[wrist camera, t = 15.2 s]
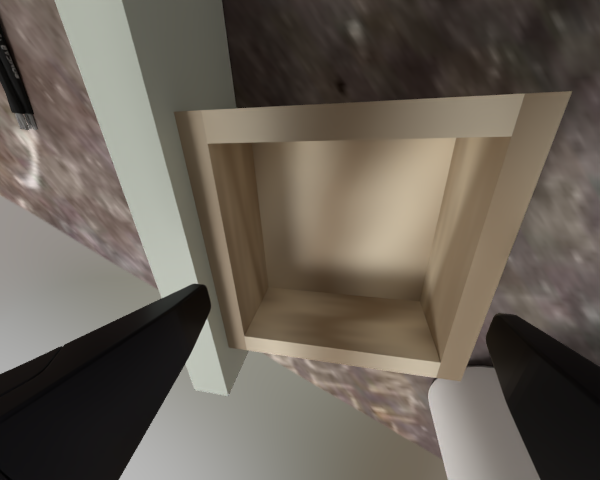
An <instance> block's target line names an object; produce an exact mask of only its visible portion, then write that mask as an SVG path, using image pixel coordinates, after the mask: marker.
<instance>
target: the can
mask: <svg viewBox="0 0 600 480" xmlns="http://www.w3.org/2000/svg"><path fill="white" fill-rule="evenodd" d="M428 400H429V405H430V409H431V413H432V417H433V422H434V426H435V430H436V434H437V438H438V442H439V446H440V450H441V454H442V458H443V462H444V466H445V470H446V474H447V478H448V480H540V478H539V476H538V473H537V471H536V469H535V467H534V465H533V462H532V460H531V458H530V456H529V453H528V451H527V449H526V447H525V444H524V442H523V440H522V438H521V435H520V433H519V431H518V429H517V426H516V424H515V422H514V420H513V418H512V415H511V413H510V411H509V408H508V406H507V403H506V401H505V398H504V395H503V392H502V389H501V386H500V383H499V380H498V377H497V374H496V371H495V368H494V367H492V366H485V365H468V366H467V367H466V369H465V372H464V374H463V377H462V380H461V381H454V380H447V379H440V378H436V379H435V381H434V382H433V384H432V385H431V387H430V389H429V393H428Z"/></svg>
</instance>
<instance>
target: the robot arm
mask: <svg viewBox="0 0 600 480" xmlns="http://www.w3.org/2000/svg"><path fill="white" fill-rule="evenodd" d="M210 310H211V301H210V297H209V293H208V289H207V287H206V285H204V284H191V285H189V286H187V287H185V288H183V289H181V290H178V291H176V292H174V293H172V294H170V295H168V296H166V297H164V298H162V299H160V300H158V301H155V302H153V303H151V304H149V305H147V306H145V307H143V308H141V309H139V310H136V311H134V312H132V313H130V314H128V315H126V316H124V317H122V318H120V319H117V320H116V321H113V322H111V323H109V324H107V325H105V326H103V327H101V328H99V329H96V330H94V331H92V332H90V333H88V334H86V335H84V336H82V337H79V338H77V339H75V340H73V341H71V342H69V343H67V344H65V345H64V346H63V347H62V346H61V347H58V348H56V349H54V350H52V351H50V352H48V353H46V354H44V355H41V356H39V357H37V358H35V359H33V360H31V361H28V362H26V363H24V364H22V365H20V366H18V367H16V368H13V369H11V370H9V371H6V372H4V373H2V374H0V480H119V478H120V476H121V475H122V473H123V471H124V470H125V468H126V466H127V464H128V463H129V461H130V459H131V457H132V456H133V454H134V452H135V450H136V449H137V447H138V445H139V443H140V442H141V440H142V438H143V436H144V435H145V433H146V431H147V429H148V428H149V426H150V424H151V423H152V421H153V419H154V417H155V416H156V414H157V412H158V410H159V408H160V407H161V405H162V403H163V402H164V400H165V398H166V396H167V395H168V393H169V391H170V389H171V388H172V386H173V384H174V382H175V381H176V379H177V377H178V375H179V374H180V372H181V370H182V369H183V367H184V365H185V363H186V362H187V360H188V358H189V356H190V354H191V352H192V350H193V348H194V346H195V344H196V342H197V340H198V337H199V335H200V333H201V331H202V328H203V326H204V324H205V322H206V320H207V317H208V315H209V313H210ZM486 344H487V347H488V350H489V353H490V356H491V359H492V362H493V365H494V368H495V371H496V374H497V377H498V380H499V383H500V386H501V389H502V392H503V395H504V398H505V401H506V403H507V406H508V408H509V411H510V413H511V415H512V418H513V420H514V422H515V424H516V426H517V429H518V431H519V433H520V435H521V438H522V440H523V442H524V444H525V447H526V449H527V451H528V453H529V456H530V458H531V460H532V462H533V465H534V467H535V469H536V471H537V473H538V476H539V478H540V480H600V367H599V366H598V365H596V364H594V363H593V362H591V361H589V360H588V359H586V358H585V357H583V356H581V355H580V354H578V353H577V352H575V351H573V350H572V349H570V348H568V347H567V346H565V345H564V344H562V343H560V342H559V341H557V340H556V339H554V338H552V337H551V336H549V335H547V334H546V333H544V332H543V331H541V330H539V329H538V328H536V327H535V326H533V325H531V324H530V323H528V322H526V321H525V320H523V319H522V318H520V317H518V316H517V315H513V314H503V313H498V314H496V315H495V316H494V317H493V320H492V322H491V325H490V327H489V330H488V332H487V335H486Z"/></svg>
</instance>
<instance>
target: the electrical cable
mask: <svg viewBox="0 0 600 480" xmlns="http://www.w3.org/2000/svg"><path fill="white" fill-rule="evenodd" d="M0 82H1V84H2V86H3V88H4V91H5V93H6V96H7V99H8V102H9V105H10V108H11V111H12V112H13V113H15V115H16V118H17V121H18V123H19V126H20V129H25V130H29V129H32V127H33V129H34V130H38V129H37V126H36V124H35V121H34V118H33V115H32V114H34V113H33V111H32V108H31V106H30V103H29V100H28V98H27V95H26V93H25V90H24V87H23V85H22V82H21V80H20V78H19V75H18V73H17V71H16V68H15V66H14V64H13V62H12V59H11V57H10V54H9V51H8V48H7V45H6V41H5V38H4V35H3V32H2V29H1V26H0ZM23 114H25V117H26V120H27V123H28V125H27V123H26V120H25V118H24V116H23ZM27 114H28V117H29V119H28V117H27ZM29 120H30V122H31V124H32V127H31V124H30V122H29ZM28 126H29V128H28Z"/></svg>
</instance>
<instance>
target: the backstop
mask: <svg viewBox="0 0 600 480" xmlns="http://www.w3.org/2000/svg"><path fill="white" fill-rule="evenodd" d="M55 3H56V6H57V9H58V11H59V14H60V17H61V20H62V22H63V25H64V28H65V31H66V34H67V36H68V39H69V42H70V45H71V47H72V50H73V53H74V56H75V59H76V61H77V64H78V67H79V70H80V72H81V75H82V78H83V81H84V84H85V86H86V89H87V92H88V95H89V97H90V100H91V103H92V106H93V109H94V111H95V114H96V117H97V120H98V123H99V125H100V128H101V131H102V134H103V136H104V139H105V142H106V145H107V148H108V150H109V153H110V156H111V159H112V161H113V164H114V167H115V170H116V173H117V175H118V178H119V181H120V184H121V186H122V189H123V192H124V195H125V198H126V200H127V203H128V206H129V209H130V211H131V214H132V217H133V220H134V223H135V225H136V228H137V231H138V234H139V237H140V239H141V242H142V245H143V248H144V250H145V253H146V256H147V259H148V262H149V264H150V267H151V270H152V273H153V275H154V278H155V281H156V284H157V287H158V289H159V292H160V295H161V297H162V298H164V297H166V296H168V295H170V294H172V293H174V292H176V291H178V290H181V289H183V288H185V287H187V286H189V285H191V284H204V285H206V287H207V289H208V293H209V297H210V301H211V310H210V313H209V315H208V317H207V320H206V322H205V324H204V326H203V328H202V331H201V333H200V335H199V337H198V340H197V342H196V344H195V346H194V348H193V350H192V352H191V354H190V356H189V358H188V360H187V362H186V363H185V364H186V367H187V370H188V373H189V376H190V378H191V381H192V384H193V386H194V389H195V390H199V391H204V392H209V393H215V394H220V395H226V396H229V394H230V391H231V389H232V387H233V385H234V382H235V380H236V378H237V376H238V373H239V371H240V369H241V367H242V365H243V362H244V360H245V358H246V356H247V354H248V350H241V349H235V348H229V346H228V341H227V337H226V333H225V329H224V324H223V320H222V316H221V312H220V307H219V303H218V299H217V295H216V290H215V286H214V282H213V278H212V273H211V269H210V265H209V261H208V256H207V252H206V248H205V243H204V239H203V235H202V231H201V226H200V222H199V218H198V214H197V209H196V205H195V201H194V197H193V192H192V188H191V184H190V180H189V175H188V171H187V167H186V163H185V158H184V154H183V150H182V145H181V141H180V137H179V133H178V128H177V124H176V120H175V116H174V112H178V111H197V110H216V109H236V102H235V94H234V87H233V79H232V72H231V64H230V57H229V50H228V42H227V35H226V27H225V20H224V12H223V5H222V0H55Z"/></svg>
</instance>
